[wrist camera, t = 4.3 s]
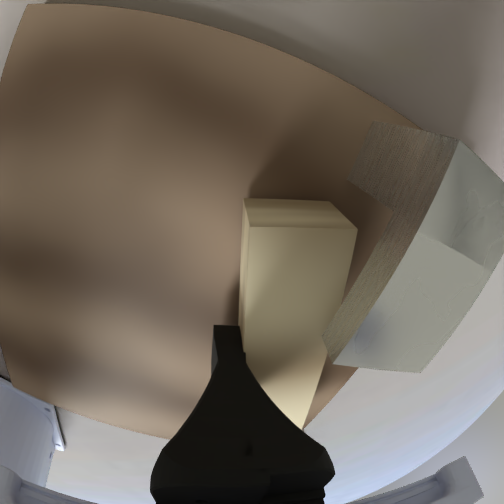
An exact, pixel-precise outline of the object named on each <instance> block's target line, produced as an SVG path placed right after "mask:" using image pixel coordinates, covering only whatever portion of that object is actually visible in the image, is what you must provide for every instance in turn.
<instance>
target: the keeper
mask: <svg viewBox="0 0 504 504" xmlns="http://www.w3.org/2000/svg"><path fill="white" fill-rule="evenodd" d="M347 180H348V181H350V182H351V183H353V184H354V185H356V186H358V187H359V188H360V189H362V190H363V191H365V192H366V193H368V194H369V195H371V196H372V197H374V198H375V199H377V200H378V201H379V202H381V203H382V204H384V205H385V206H386V207H388V208H389V209H391V210H392V211H393V212H394V213H393V215H392V217H391V219H390V221H389V222H388V224H387V226H386V228H385V230H384V232H383V234H382V236H381V238H380V239H379V241H378V243H377V245H376V247H375V249H374V250H373V252H372V254H371V256H370V258H369V259H368V261H367V263H366V265H365V266H364V268H363V270H362V272H361V273H360V275H359V277H358V278H357V280H356V282H355V284H354V285H353V287H352V289H351V290H350V292H349V294H348V295H347V297H346V298H345V300H344V302H343V303H342V305H341V306H340V308H339V310H338V311H337V313H336V314H335V316H334V318H333V319H332V321H331V322H330V324H329V325H328V327H327V328H326V330H325V331H324V333H323V334H322V336H321V337H322V339H323V342H324V344H325V347H326V349H327V352H328V354H329V357H330V359H331V362H332V364H336V365H344V366H351V367H360V368H368V369H378V370H388V371H400V372H413V373H421V372H422V371H423V370H424V368H425V367H426V366H427V365H428V364H429V362H430V361H431V360H432V359H433V358H434V356H435V355H436V354H437V353H438V351H439V350H440V349H441V348H442V346H443V345H444V344H445V343H446V341H447V340H448V339H449V337H450V336H451V335H452V333H453V332H454V331H455V329H456V328H457V327H458V325H459V324H460V322H461V321H462V320H463V318H464V317H465V315H466V314H467V312H468V311H469V309H470V308H471V306H472V305H473V303H474V302H475V300H476V299H477V297H478V296H479V294H480V293H481V291H482V289H483V288H484V286H485V285H486V283H487V281H488V280H489V278H490V276H491V274H492V273H493V271H494V269H495V267H496V266H497V264H498V262H499V260H500V258H501V257H502V255H503V253H504V182H503V181H502V180H501V179H500V178H499V177H498V176H497V175H496V174H495V173H494V172H493V171H492V170H491V169H490V168H489V167H488V166H487V165H486V164H485V163H484V162H483V161H482V160H481V159H480V158H479V157H478V156H477V155H476V154H475V153H474V152H473V151H472V150H470V149H469V148H468V147H467V146H466V145H465V144H464V143H463V142H461V141H460V140H458V139H455V138H451V137H447V136H443V135H439V134H435V133H431V132H427V131H423V130H418V129H414V128H409V127H404V126H399V125H394V124H389V123H384V122H378V121H373V122H372V124H371V127H370V129H369V131H368V134H367V136H366V138H365V140H364V143H363V145H362V147H361V149H360V152H359V154H358V156H357V158H356V160H355V163H354V165H353V167H352V169H351V171H350V174H349V176H348V178H347Z"/></svg>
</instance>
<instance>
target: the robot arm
mask: <svg viewBox="0 0 504 504" xmlns="http://www.w3.org/2000/svg"><path fill="white" fill-rule="evenodd" d="M55 449H58V450H60V451H65V445H64V442H63V439H62V435H61V432H60V428H59V424H58V420H57V416H56V412H55V408H54V405H52V404H50V403H47V402H45V401H43V400H40V399H38V398H36V397H34V396H31V395H29V394H27V393H25V392H23V391H21V390H19V389H16V388H14V387H13V385H12V383H11V382H9V381H7V380H5V379H3V378H1V377H0V504H97V503H93V502H89V501H85V500H81V499H78V498H74V497H71V496H68V495H64V494H61V493H58V492H55V491H52V490H50V489H47V488H45V486H46V482H47V478H48V473H49V469H50V465H51V462H52V458H53V454H54V450H55ZM334 475H335V470H334V466H333V463H332V461H331V459H330V456H329V454H328V452H327V450H326V449H325V447H323V446H322V445H320V444H319V443H318V442H316V441H315V440H313V439H312V438H311V437H310V436H308V435H307V434H306V433H304V432H303V431H302V430H301V429H300V428H299V427H297V426H296V425H295V424H294V423H293V422H292V421H291V420H290V419H289V418H288V417H287V416H286V415H285V414H284V413H283V412H282V411H281V410H280V409H279V408H278V407H277V406H276V404H275V403H274V402H273V401H272V400H271V399H270V397H269V396H268V395H267V394H266V392H265V391H264V390H263V388H262V387H261V386H260V384H259V383H258V381H257V380H256V378H255V377H254V375H253V373H252V372H251V370H250V368H249V367H248V365H247V363H246V352H243V345H242V337H241V331H240V326H233V325H213V339H212V355H211V378H210V380H209V383H208V385H207V387H206V389H205V390H204V392H203V394H202V396H201V398H200V399H199V401H198V403H197V404H196V406H195V408H194V409H193V411H192V412H191V414H190V415H189V417H188V418H187V420H186V421H185V422H184V424H183V425H182V426H181V428H180V429H179V430H178V432H177V433H176V434H175V435H174V436H173V438H172V439H171V440H170V441H169V442H168V443H167V444H166V446H165V447H164V448H163V449H162V451H161V453H160V455H159V457H158V459H157V461H156V463H155V465H154V468H153V471H152V474H151V481H150V493H151V494H152V496H153V498H154V500H155V501H156V504H324V500H323V498H324V497H325V491H324V486H325V485H327V484H328V483H329V482H330V481H331V480H332V478H333V477H334ZM483 496H484V494H483V492H482V490H481V488H480V485H479V483H478V481H477V479H476V477H475V475H474V473H473V471H472V469H471V467H470V465H469V463H468V461H467V459H466V457H465V456H463V457H461V458H459V459H457V460H455V461H453V462H451V463H449V464H448V465H446V466H444V467H442V468H441V469H440V470H438V471H437V472H436V474H434V475H432V476H429V477H427V478H424V479H422V480H420V481H417V482H414V483H412V484H409V485H406V486H403V487H401V488H398V489H395V490H392V491H389V492H386V493H383V494H379V495H377V496H373V497H369V498H366V499H362V500H358V501H354V502H350V503H346V504H474V503H475V502H477V501H478V500H480V499H481V498H483Z"/></svg>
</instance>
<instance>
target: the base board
mask: <svg viewBox="0 0 504 504" xmlns="http://www.w3.org/2000/svg"><path fill="white" fill-rule="evenodd" d="M373 121H378V122H384V123H389V124H394V125H399V126H404V127H409V128H414V129H418V130H422V129H421V128H420V127H418V126H417V125H415V124H414V123H412V122H411V121H410V120H408V119H407V118H405V117H404V116H402V115H401V114H399V113H398V112H396V111H395V110H393V109H392V108H390V107H388V106H387V105H385V104H384V103H382V102H380V101H379V100H377V99H375V98H374V97H372V96H370V95H369V94H367V93H365V92H364V91H362V90H360V89H358V88H357V87H355V86H353V85H351V84H349V83H348V82H346V81H344V80H342V79H340V78H338V77H336V76H334V75H332V74H330V73H328V72H326V71H324V70H322V69H320V68H318V67H316V66H314V65H312V64H310V63H308V62H306V61H303V60H301V59H299V58H297V57H294V56H292V55H290V54H287V53H285V52H283V51H280V50H278V49H275V48H273V47H270V46H268V45H265V44H262V43H260V42H257V41H254V40H252V39H249V38H246V37H243V36H240V35H237V34H234V33H231V32H228V31H225V30H221V29H218V28H215V27H211V26H208V25H204V24H200V23H197V22H193V21H189V20H185V19H181V18H176V17H172V16H167V15H162V14H157V13H152V12H146V11H140V10H133V9H126V8H119V7H110V6H100V5H86V4H28V5H27V7H26V9H25V11H24V14H23V16H22V18H21V21H20V23H19V26H18V28H17V31H16V34H15V36H14V39H13V42H12V45H11V48H10V51H9V54H8V57H7V60H6V63H5V67H4V70H3V73H2V77H1V81H0V345H1V349H2V352H3V356H4V360H5V363H6V366H7V370H8V373H9V376H10V379H11V382H12V385H13V387H14V388H16V389H19V390H21V391H23V392H25V393H27V394H29V395H31V396H34V397H36V398H38V399H40V400H43V401H45V402H47V403H50V404H52V405H55V406H57V407H60V408H62V409H65V410H68V411H70V412H73V413H76V414H79V415H81V416H84V417H87V418H90V419H93V420H96V421H99V422H103V423H106V424H109V425H113V426H116V427H120V428H123V429H127V430H131V431H135V432H139V433H143V434H147V435H151V436H156V437H160V438H165V439H170V440H171V439H172V438H173V436H174V435H175V434H176V433H177V432H178V430H179V429H180V428H181V426H182V425H183V424H184V422H185V421H186V420H187V418H188V417H189V415H190V414H191V412H192V411H193V409H194V408H195V406H196V404H197V403H198V401H199V399H200V398H201V396H202V394H203V392H204V390H205V389H206V387H207V385H208V383H209V380H210V378H211V355H212V339H213V325H233V326H238V319H239V290H240V264H241V238H242V215H243V198H258V199H290V200H313V201H330V202H331V203H332V204H333V205H334V206H335V207H336V208H337V209H338V210H339V211H340V212H341V213H342V214H343V215H344V216H345V217H346V218H347V219H348V220H349V221H350V222H351V223H352V224H353V225H354V226H355V227H356V228H357V229H358V231H357V236H356V241H355V246H354V251H353V255H352V260H351V265H350V269H349V273H348V278H347V282H346V286H345V290H344V294H343V298H342V302H341V305H342V303H343V302H344V300H345V298H346V297H347V295H348V294H349V292H350V290H351V289H352V287H353V285H354V284H355V282H356V280H357V278H358V277H359V275H360V273H361V272H362V270H363V268H364V266H365V265H366V263H367V261H368V259H369V258H370V256H371V254H372V252H373V250H374V249H375V247H376V245H377V243H378V241H379V239H380V238H381V236H382V234H383V232H384V230H385V228H386V226H387V224H388V222H389V221H390V219H391V217H392V215H393V213H394V212H393V211H392V210H391V209H389V208H388V207H386V206H385V205H384V204H382V203H381V202H379V201H378V200H377V199H375V198H374V197H372V196H371V195H369V194H368V193H366V192H365V191H363V190H362V189H360V188H359V187H358V186H356V185H354V184H353V183H351V182H350V181H348V180H347V178H348V176H349V174H350V171H351V169H352V167H353V165H354V163H355V160H356V158H357V156H358V154H359V152H360V149H361V147H362V145H363V143H364V140H365V138H366V136H367V134H368V131H369V129H370V127H371V124H372V122H373ZM423 131H424V130H423ZM358 368H359V367H351V366H344V365H336V364H332V362H331V359H330V357H329V354H328V353H327V356H326V360H325V363H324V366H323V369H322V372H321V376H320V379H319V382H318V385H317V388H316V391H315V394H314V397H313V400H312V403H311V405H310V408H309V411H308V414H307V417H306V419H305V422H304V425H303V429H304V428H305V427H306V426H307V425H308V424H309V423H310V422H311V421H312V420H313V419H314V418H315V417H316V415H317V414H318V413H319V412H320V411H321V410H322V409H323V408H324V407H325V406H326V405H327V404H328V403H329V401H330V400H331V399H332V398H333V397H334V396H335V395H336V394H337V392H338V391H339V390H340V389H341V388H342V387H343V386H344V384H345V383H346V382H347V381H348V380H349V378H350V377H351V376H352V375H353V374H354V372H355V371H356V370H357V369H358Z"/></svg>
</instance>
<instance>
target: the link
mask: <svg viewBox="0 0 504 504" xmlns="http://www.w3.org/2000/svg"><path fill="white" fill-rule="evenodd" d="M357 231H358V229H357V228H356V227H355V226H354V225H353V224H352V223H351V222H350V221H349V220H348V219H347V218H346V217H345V216H344V215H343V214H342V213H341V212H340V211H339V210H338V209H337V208H336V207H335V206H334V205H333V204H332V203H331V202H330V201H313V200H290V199H258V198H243V215H242V238H241V264H240V290H239V319H238V326H240V331H241V337H242V345H243V352H246V363H247V365H248V367H249V368H250V370H251V372H252V373H253V375H254V377H255V378H256V380H257V381H258V383H259V384H260V386H261V387H262V388H263V390H264V391H265V392H266V394H267V395H268V396H269V397H270V399H271V400H272V401H273V402H274V403H275V404H276V406H277V407H278V408H279V409H280V410H281V411H282V412H283V413H284V414H285V415H286V416H287V417H288V418H289V419H290V420H291V421H292V422H293V423H294V424H295V425H296V426H297V427H299V428H300V429H301V430H302V431H303V432H304V429H303V425H304V422H305V419H306V417H307V414H308V411H309V408H310V405H311V403H312V400H313V397H314V394H315V391H316V388H317V385H318V382H319V379H320V376H321V372H322V369H323V366H324V363H325V360H326V356H327V353H328V352H327V349H326V347H325V344H324V342H323V339H322V337H321V336H322V334H323V333H324V331H325V330H326V328H327V327H328V325H329V324H330V322H331V321H332V319H333V318H334V316H335V314H336V313H337V311H338V310H339V308H340V306H341V302H342V298H343V294H344V290H345V286H346V282H347V278H348V273H349V269H350V265H351V260H352V255H353V251H354V246H355V241H356V236H357Z"/></svg>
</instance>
